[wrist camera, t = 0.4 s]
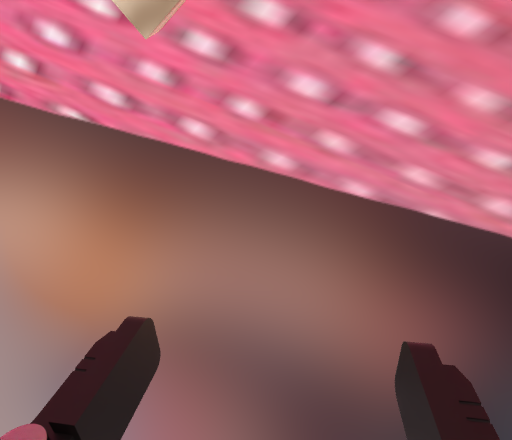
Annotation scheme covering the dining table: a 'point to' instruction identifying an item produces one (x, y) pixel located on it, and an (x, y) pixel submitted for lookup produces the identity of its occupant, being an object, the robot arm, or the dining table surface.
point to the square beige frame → (148, 13)
